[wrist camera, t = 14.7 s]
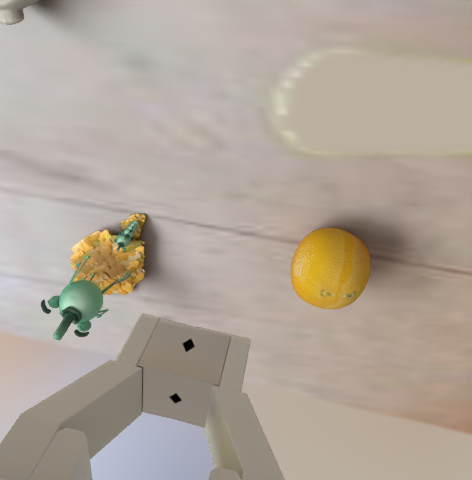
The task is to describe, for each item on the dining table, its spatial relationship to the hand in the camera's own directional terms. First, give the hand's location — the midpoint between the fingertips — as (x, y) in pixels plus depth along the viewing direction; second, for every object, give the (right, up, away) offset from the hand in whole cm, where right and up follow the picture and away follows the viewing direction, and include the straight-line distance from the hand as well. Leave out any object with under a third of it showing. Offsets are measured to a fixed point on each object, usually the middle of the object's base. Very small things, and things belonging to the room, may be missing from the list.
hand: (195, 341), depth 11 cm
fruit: (+12, +2, +34) cm, 36 cm away
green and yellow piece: (-15, 0, +41) cm, 44 cm away
